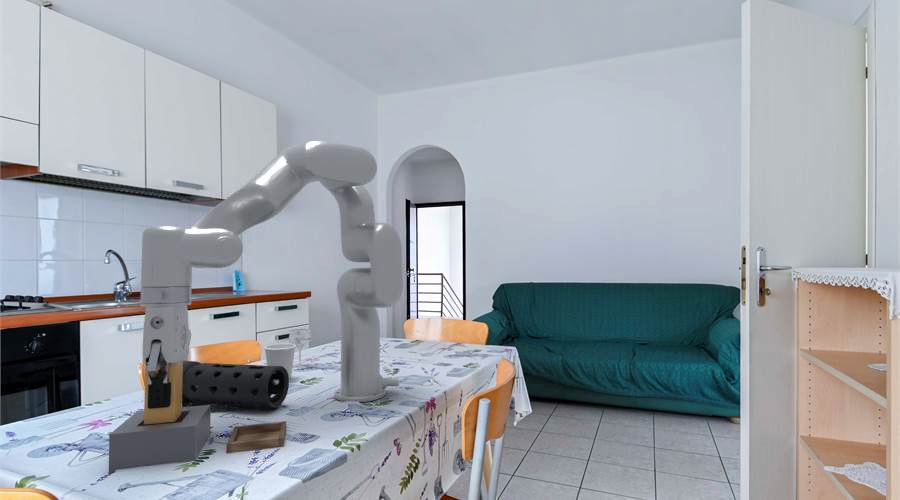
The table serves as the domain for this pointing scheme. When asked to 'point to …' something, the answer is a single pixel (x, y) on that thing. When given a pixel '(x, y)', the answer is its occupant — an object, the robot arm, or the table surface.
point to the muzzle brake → (234, 385)
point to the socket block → (159, 439)
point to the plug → (176, 397)
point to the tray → (256, 437)
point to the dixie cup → (280, 356)
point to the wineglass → (300, 340)
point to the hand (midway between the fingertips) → (163, 402)
